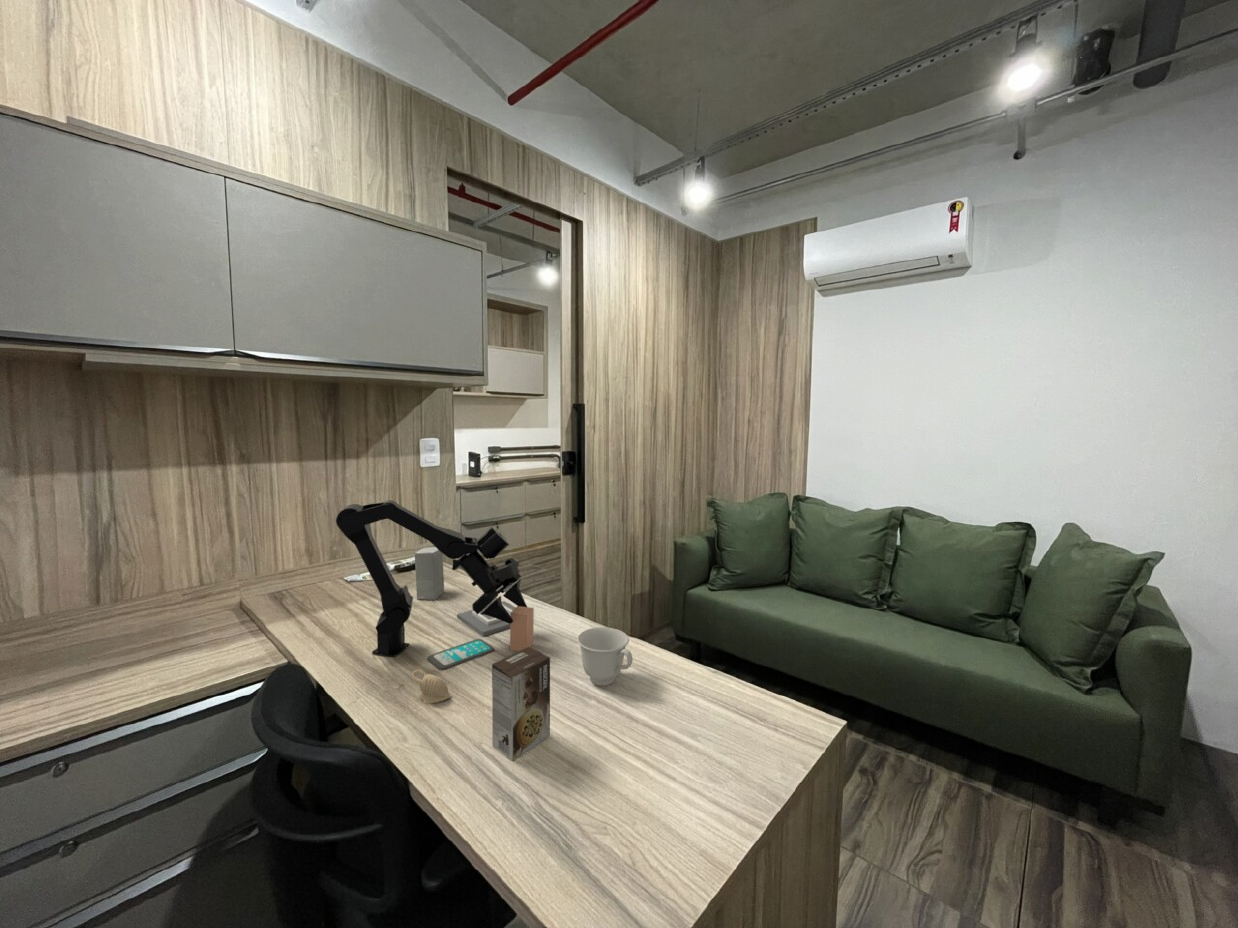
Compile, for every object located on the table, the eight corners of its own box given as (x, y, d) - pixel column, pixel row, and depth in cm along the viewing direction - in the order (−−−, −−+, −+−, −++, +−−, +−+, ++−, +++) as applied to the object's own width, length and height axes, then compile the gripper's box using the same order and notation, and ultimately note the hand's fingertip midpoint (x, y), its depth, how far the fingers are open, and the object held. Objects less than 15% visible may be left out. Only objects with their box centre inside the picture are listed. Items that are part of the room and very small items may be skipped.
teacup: (610, 705, 103) (612, 661, 102) (565, 678, 113) (566, 637, 112) (647, 684, 111) (649, 642, 110) (602, 660, 122) (603, 622, 121)
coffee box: (528, 722, 96) (529, 645, 95) (550, 736, 92) (552, 656, 91) (490, 745, 89) (490, 662, 88) (512, 762, 85) (513, 675, 84)
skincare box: (435, 600, 157) (435, 553, 156) (413, 599, 157) (413, 552, 156) (445, 591, 166) (445, 546, 164) (424, 590, 166) (424, 545, 164)
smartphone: (424, 655, 120) (479, 637, 131) (424, 659, 121) (479, 640, 131) (440, 668, 114) (496, 648, 125) (440, 672, 115) (496, 652, 125)
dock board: (483, 636, 133) (483, 628, 133) (457, 617, 145) (457, 610, 144) (532, 620, 144) (532, 613, 144) (504, 604, 156) (504, 598, 155)
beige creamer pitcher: (438, 707, 101) (438, 683, 100) (409, 696, 104) (408, 673, 104) (452, 697, 104) (452, 673, 104) (424, 687, 108) (423, 664, 107)
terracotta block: (526, 651, 125) (527, 614, 124) (510, 649, 126) (510, 612, 125) (533, 643, 130) (533, 607, 129) (517, 641, 131) (517, 606, 130)
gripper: (483, 562, 118) (526, 610, 117) (514, 542, 136) (551, 584, 135) (454, 590, 120) (495, 638, 119) (488, 567, 138) (524, 608, 137)
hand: (519, 615), depth 127 cm, fingers open, 9 cm apart
